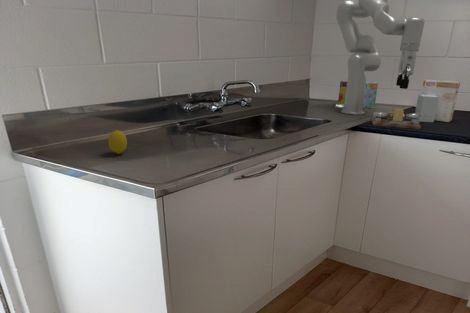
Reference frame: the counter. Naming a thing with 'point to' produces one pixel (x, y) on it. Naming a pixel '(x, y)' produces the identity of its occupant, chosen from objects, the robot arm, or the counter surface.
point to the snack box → (368, 95)
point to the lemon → (117, 141)
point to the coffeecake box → (442, 97)
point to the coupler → (397, 115)
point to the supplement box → (427, 107)
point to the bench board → (386, 123)
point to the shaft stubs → (385, 115)
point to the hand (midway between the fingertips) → (401, 87)
